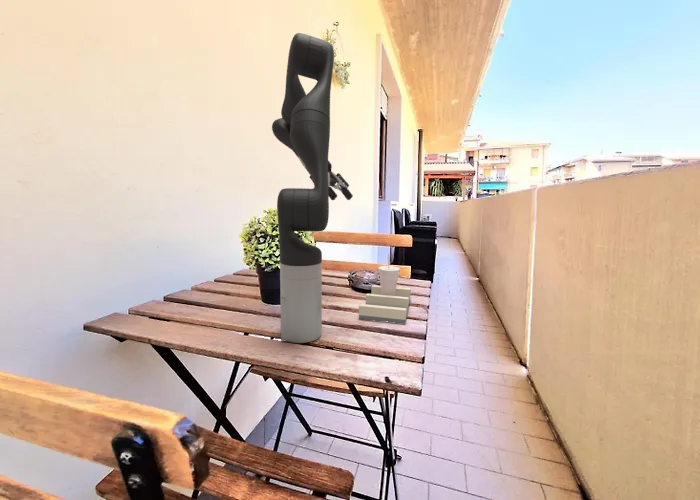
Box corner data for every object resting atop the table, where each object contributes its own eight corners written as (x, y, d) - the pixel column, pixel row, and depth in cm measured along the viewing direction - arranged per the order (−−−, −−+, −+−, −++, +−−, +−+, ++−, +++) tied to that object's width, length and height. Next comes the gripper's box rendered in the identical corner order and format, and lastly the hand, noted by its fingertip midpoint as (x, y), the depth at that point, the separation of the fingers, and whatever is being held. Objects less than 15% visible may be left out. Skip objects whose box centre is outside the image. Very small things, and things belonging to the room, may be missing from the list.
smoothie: (373, 300, 99) (375, 254, 96) (382, 295, 104) (383, 250, 102) (394, 304, 96) (396, 256, 94) (401, 298, 102) (403, 253, 99)
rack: (405, 324, 85) (405, 310, 84) (358, 319, 88) (359, 305, 87) (410, 299, 104) (410, 288, 104) (372, 296, 107) (372, 285, 106)
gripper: (306, 150, 102) (336, 189, 97) (334, 155, 113) (362, 190, 109) (293, 168, 105) (322, 207, 101) (321, 171, 117) (348, 206, 113)
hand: (343, 198), depth 105 cm, fingers open, 8 cm apart
